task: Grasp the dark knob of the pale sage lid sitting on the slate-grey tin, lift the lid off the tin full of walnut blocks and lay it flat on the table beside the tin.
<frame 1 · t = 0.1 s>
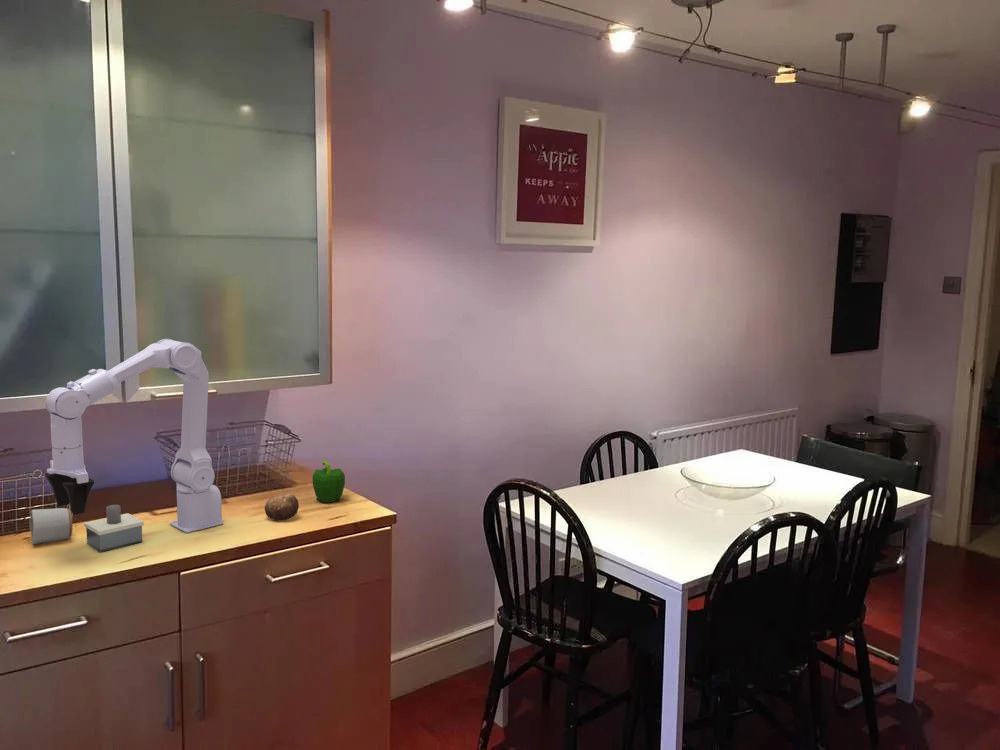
hand: (70, 509, 174), 10 cm above the countertop, fingers open, 7 cm apart
tin: (114, 543, 183), on the countertop
brown potato: (281, 519, 203), on the countertop
lid: (114, 525, 182), point 4 cm above the countertop, touching tin
bell pepper: (328, 500, 218), on the countertop
ceramic mug: (49, 539, 184), on the countertop
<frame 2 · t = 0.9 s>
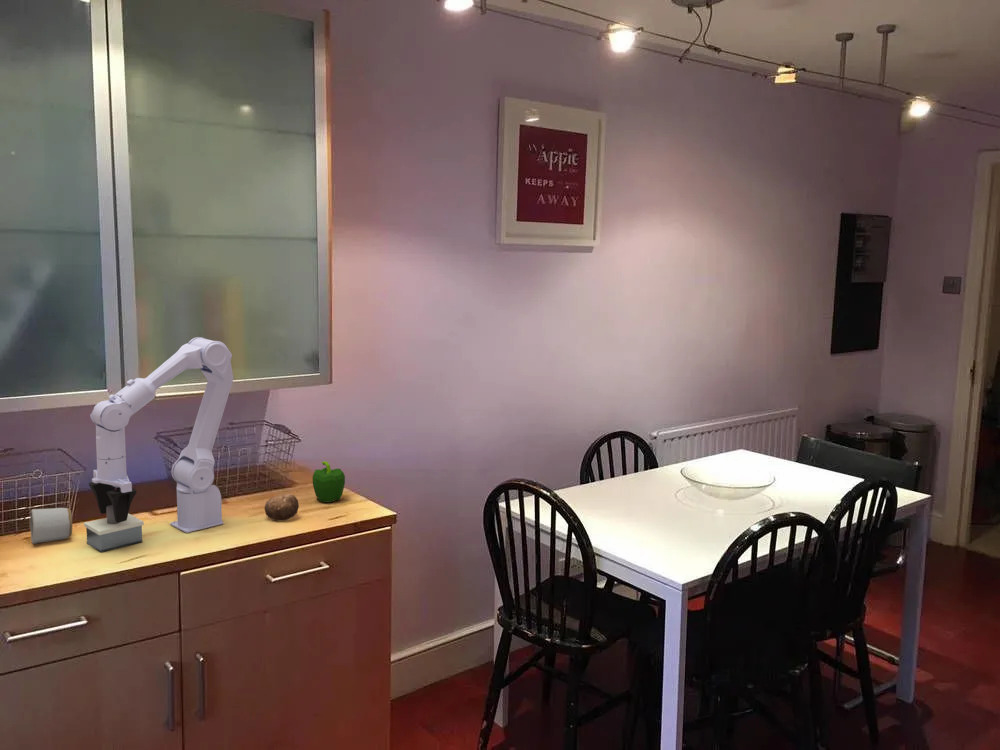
hand: (113, 516, 182), 6 cm above the countertop, fingers open, 7 cm apart
nothing on the countertop moved.
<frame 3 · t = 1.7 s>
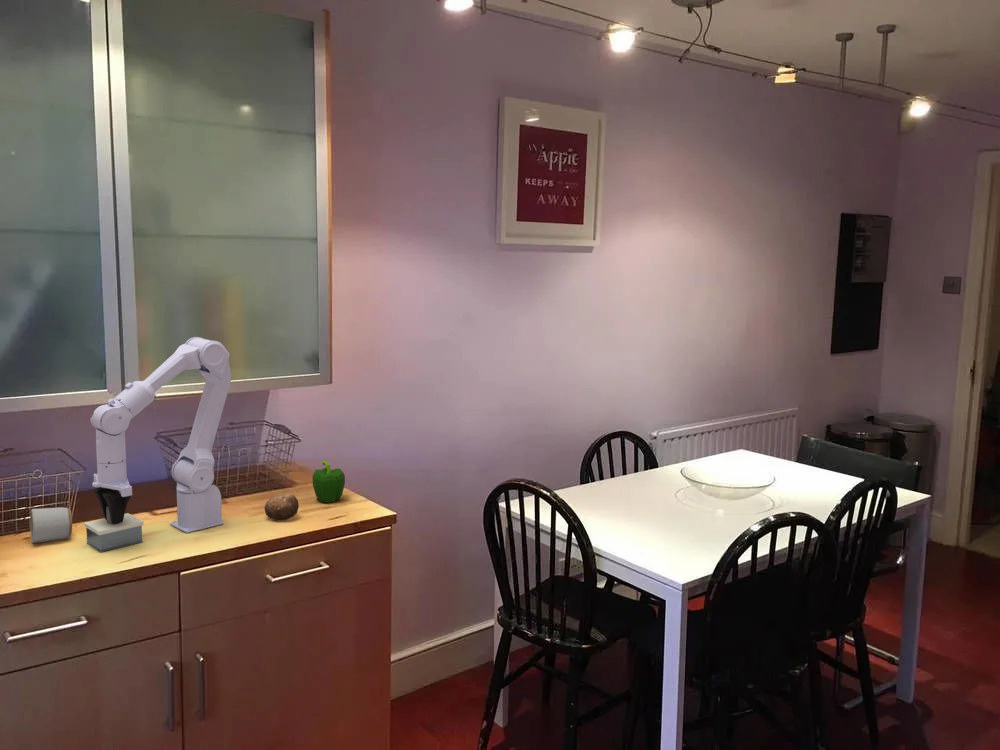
hand: (113, 520, 182), 5 cm above the countertop, fingers closed on lid, 3 cm apart
lid: (114, 525, 182), point 4 cm above the countertop, touching gripper, tin
everything else where it was.
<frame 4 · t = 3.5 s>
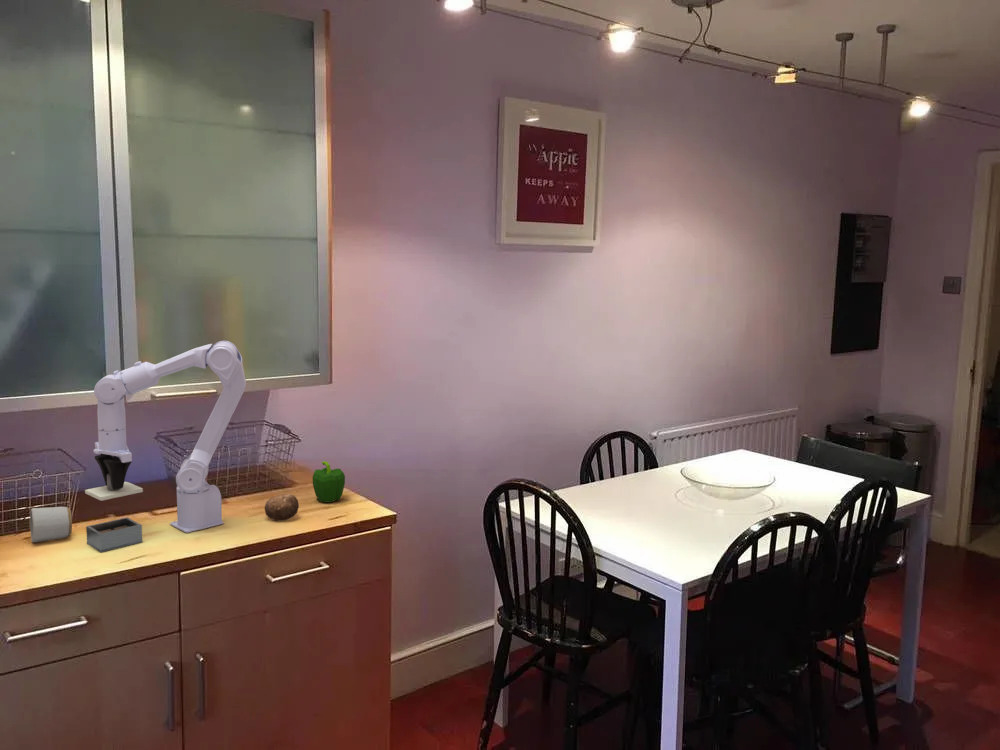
hand: (114, 486, 190), 10 cm above the countertop, fingers closed on lid, 3 cm apart
lid: (114, 492, 190), point 9 cm above the countertop, touching gripper
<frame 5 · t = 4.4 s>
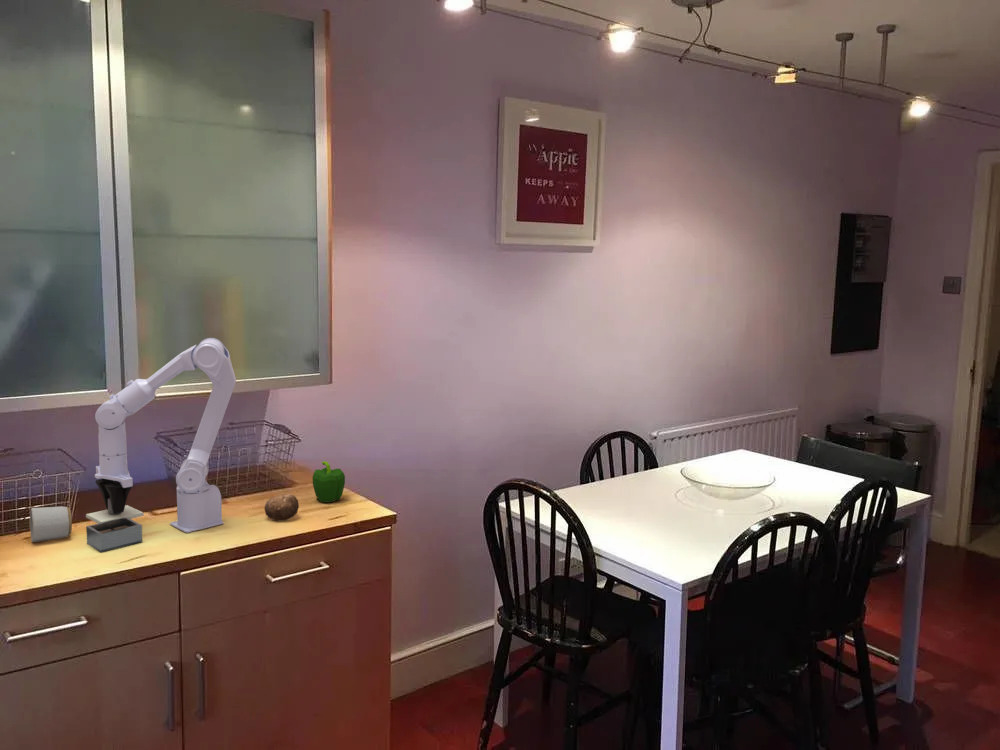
hand: (115, 510, 191), 4 cm above the countertop, fingers closed on lid, 3 cm apart
lid: (115, 516, 191), point 3 cm above the countertop, touching gripper
when the fingers open (2 cm above the countertop, at t = 5.1 s): lid drops 2 cm, on the countertop.
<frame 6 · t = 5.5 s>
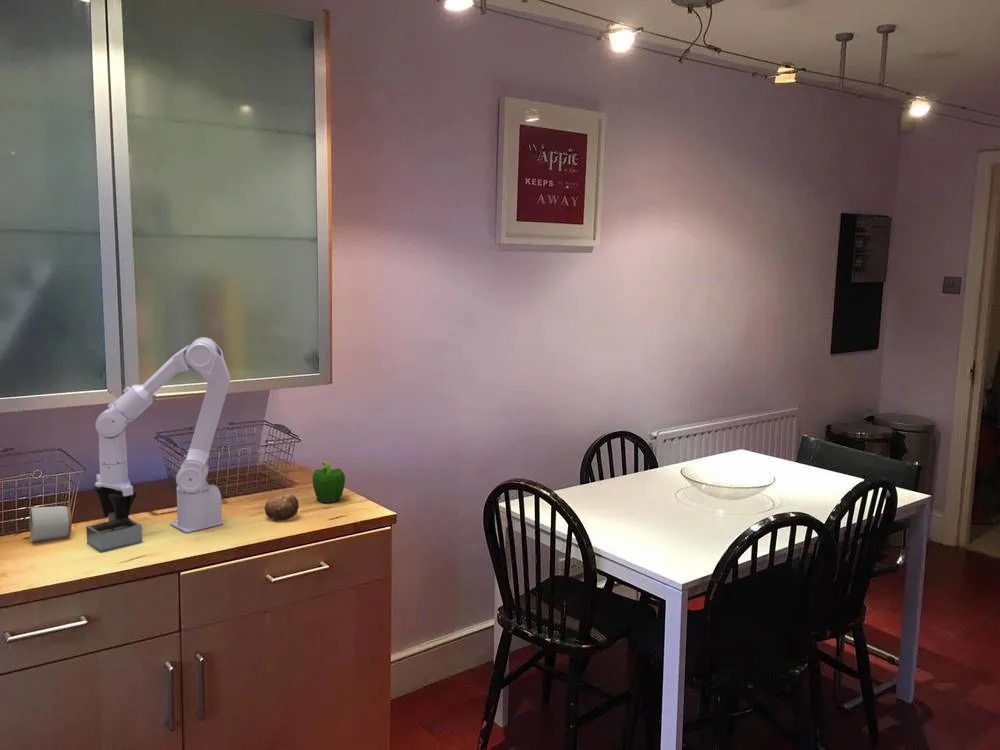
hand: (115, 519, 191), 2 cm above the countertop, fingers open, 6 cm apart
lid: (115, 531, 191), on the countertop
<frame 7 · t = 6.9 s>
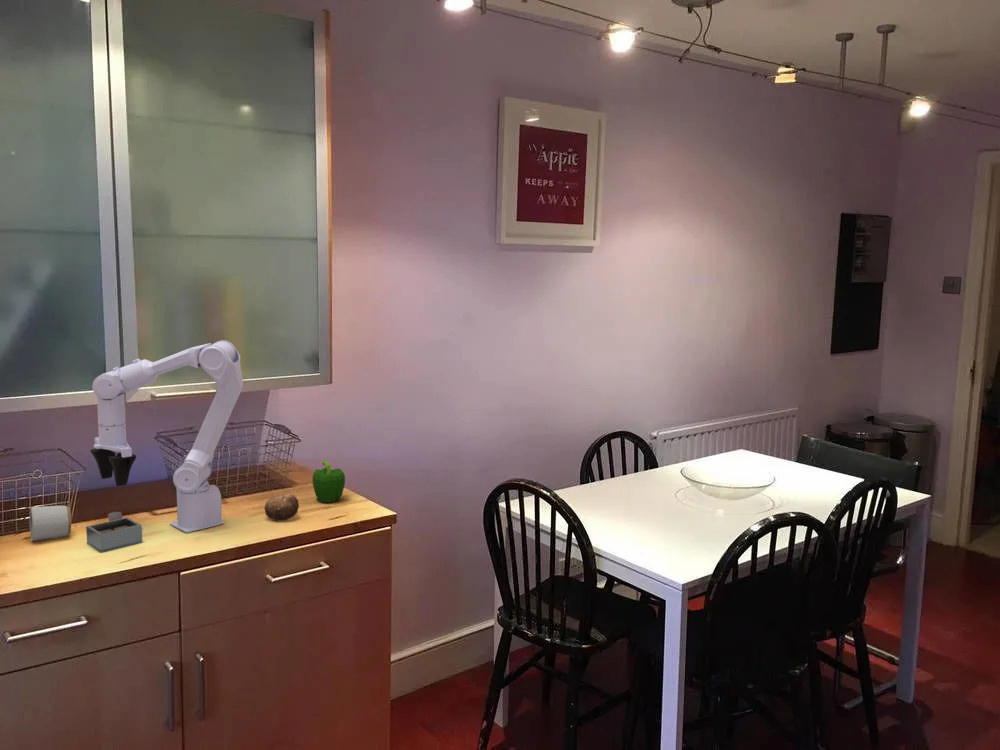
hand: (114, 481, 193), 10 cm above the countertop, fingers open, 7 cm apart
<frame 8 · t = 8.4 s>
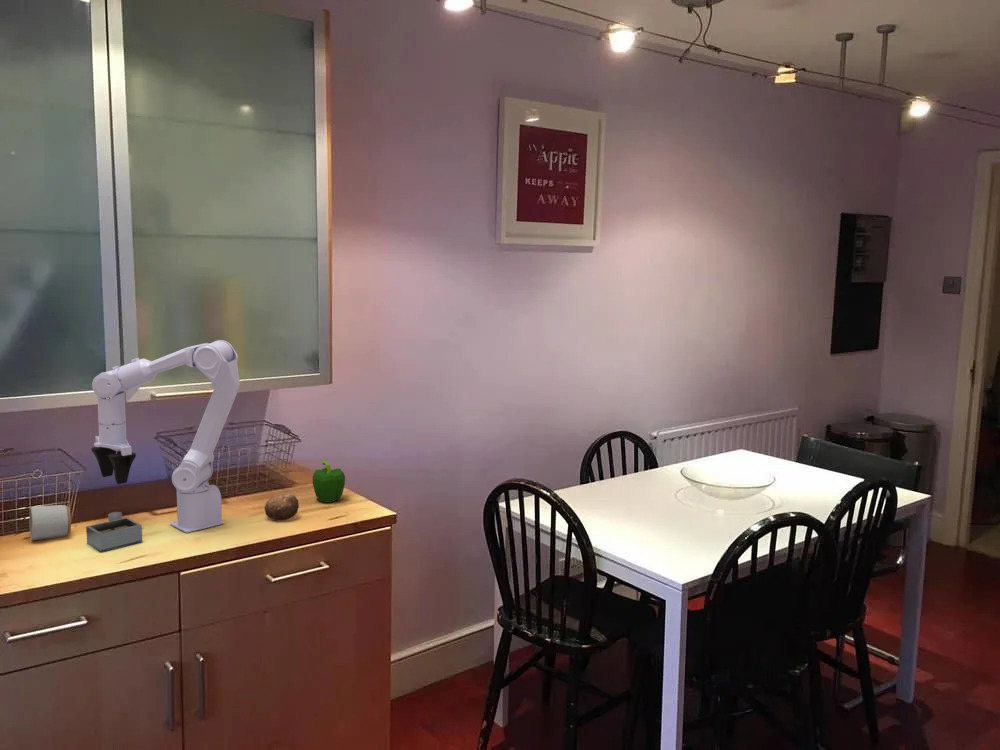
hand: (114, 479, 194), 10 cm above the countertop, fingers open, 7 cm apart
at the end: lid inside the target area (0.5 cm from its centre), on the countertop; lid tilted 0°; lid touching countertop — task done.
